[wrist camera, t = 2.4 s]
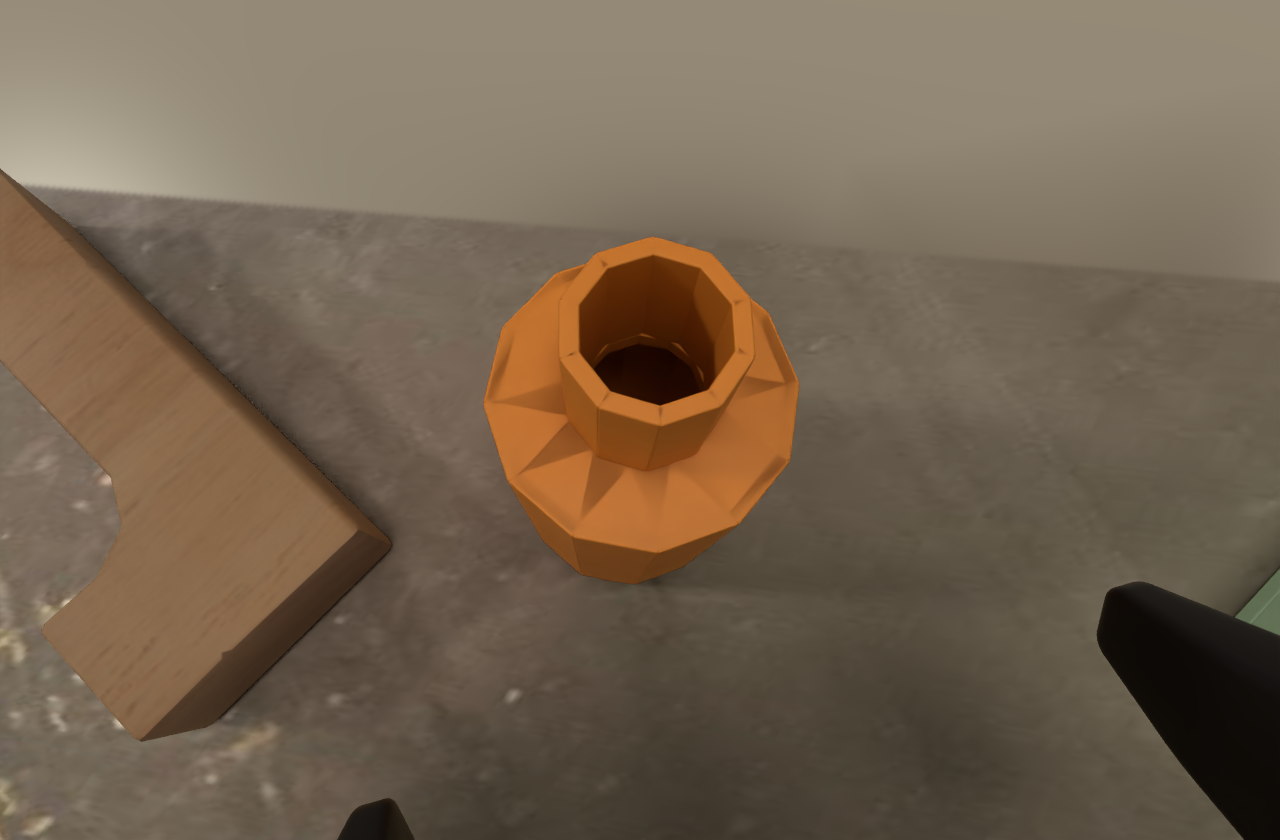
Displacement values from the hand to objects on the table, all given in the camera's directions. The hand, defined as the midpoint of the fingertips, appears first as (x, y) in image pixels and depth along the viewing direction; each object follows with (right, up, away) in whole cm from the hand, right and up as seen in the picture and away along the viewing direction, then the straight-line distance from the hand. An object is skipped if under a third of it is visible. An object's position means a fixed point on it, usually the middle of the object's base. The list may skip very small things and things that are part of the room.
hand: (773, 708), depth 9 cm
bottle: (-2, +1, +13) cm, 13 cm away
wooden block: (-11, -2, +10) cm, 14 cm away
